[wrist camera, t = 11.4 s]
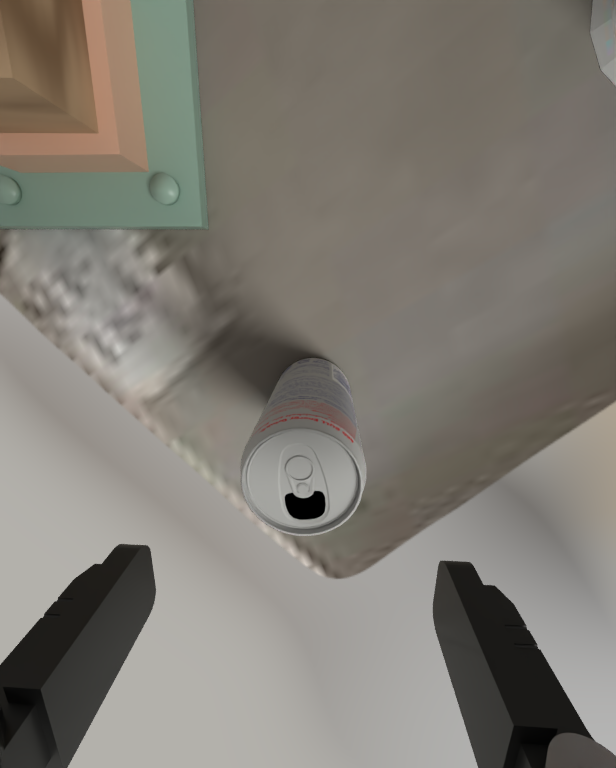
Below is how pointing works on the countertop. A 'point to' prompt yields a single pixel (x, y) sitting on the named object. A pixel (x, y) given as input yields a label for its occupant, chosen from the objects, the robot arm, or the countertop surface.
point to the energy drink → (305, 453)
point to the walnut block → (45, 68)
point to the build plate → (164, 142)
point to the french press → (605, 35)
